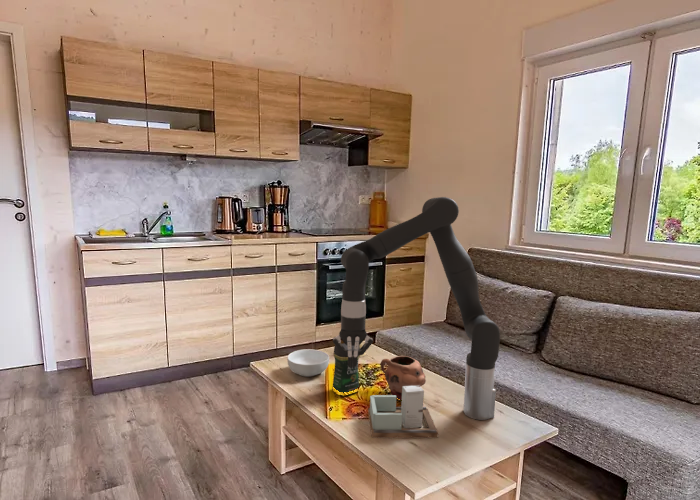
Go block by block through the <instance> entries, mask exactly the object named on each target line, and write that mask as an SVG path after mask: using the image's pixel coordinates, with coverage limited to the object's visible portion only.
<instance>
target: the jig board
mask: <svg viewBox="0 0 700 500" xmlns="http://www.w3.org/2000/svg"><path fill="white" fill-rule="evenodd" d="M367 413H368V420H369V428H370V434H371V438H374V439H375V438H376V439H379V438H380V439H381V438H382V439H383V438H386V439H387V438H388V439H389V438H391V439H392V438H398V439H399V438H401V439H403V438H404V439H407V438H410V439H411V438H415V439H416V438H419V439H420V438H431V439H432V438H434V439H435V438H436V439H437V438H439V431H438V429H437V428H436V425H435V423H434V420H433V418H432V416H431V413H430V411H429V408H427V406H423V418H422V419H423V421H424V422H425V425H426V428H422V427H417V428H404V427H403V428H402V427H401V430H375V429H373V426H372V420H371V414H370V407H368V409H367ZM377 413H401V406H396V411H377Z"/></svg>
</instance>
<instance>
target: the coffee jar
mask: <svg viewBox="0 0 700 500" xmlns="http://www.w3.org/2000/svg"><path fill="white" fill-rule="evenodd" d="M341 344H342V346H343V347H344V348H345V349H346V350H348V347H347V345H346V344H345V343H344V342H343V343H341ZM351 347H352V356H353V350H354V346H351ZM359 349H360V346H359V347H358V350H359ZM359 356H360V355H359ZM359 356H358V357H357V367H355V368H353V366H352V368H350V367H349V366H348V356H346V355H343V354H342V353H341V352H340V350H339V349H338V348H337V347H336V345H335V344H334V347H333V357H334V371H333V378H332V379H333V381H332V388H333V387H334V388H335V389H336V390H338V391H339V392H343V393H344V392H349V391H352V390H355V389H357V388H358V387H359V388H360V379H359V378H360V377H359V358H360V357H359ZM352 364H353V363H352Z"/></svg>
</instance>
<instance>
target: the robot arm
mask: <svg viewBox="0 0 700 500" xmlns="http://www.w3.org/2000/svg"><path fill="white" fill-rule="evenodd" d="M459 212H460V210H459V206H458V203H457V202H456V201H455V200H454V199H452V198H450V197H446V196H440V197H439V196H437V197H433V198H429V199H427V200H426V201H425V202H424V203H423V206H422V209H421V213H419V214H418V215H416V216H413V217H412V218H410V219H408V220H406V221H403V222H400V223H398V224H396V225H394V226H391V227H389V228H387V229H384V230H383V231H382V232H379V233H377V234H376V235H374V236H372V237H370V238H369V239H367V240H363V241H362V242H359V243H356V244H354V245H352V246H350V247H349V248H346V249H345V250H344V251H343V253H342V254H341V256H340V257H341V258H340V262H341V265H342V267H343V268H344V269H345V280H344V282H343V283H342V297H341V298H342V299H341V301H342V302H341V305H340V306H341V307H340V308H341V309H340V331H339V333H338V335H336V336H334V337H333V338H332V343H333V345H334V346H335V345H336V347H337V348H338V349H339V350H340V352H341V353H342V354H343V355H346V356H348V366H349V367H350V368H352V366H353V368H355V367H357V357H358V356H359V355H363V354H364V353H366V352H367V350H368V349H369V348H370V347H371V346H372V344H373V343H374V339H373V337H371V336H369V335H368V334H367V331H366V317H367V316H366V314H367V304H366V285H367V280H368V274H369V269H370V268H369V265H370V262H372V261H373V260H380V259H384V258H385V257H386V256H388V255H391V254H392V253H393V252H395V251H397V250H399V249H400V248H402V247H404V246H406V245H407V244H409V243H411V242H413V241H414V240H416V239H418V238H420V237H423V236H424V235H427V234H429V233H430V236H431V237H432V240H433V242H434V243H435V247H436V250H437V253H438V256H439V259H440V262H441V264H442V267H443V271H444V273H445V277H446V279H447V281H448V284H449V286H450V289H451V291H452V293H453V294H452V295H453V296H454V299H455V301H456V303H457V305H458V308H459V311H460V314H461V319H462V324H463V327H464V331H465V334H466V335H467V337H468V338H469V339H470V341H471V345H470V346H471V347H470V352H469V353H467V354H466V358H465V359H466V361H465V375H464V377H465V378H464V394H463V395H464V397H463V413H464V415H465V416H467V417H469V418H471V419H474V420H479V421H484V420H490V419H492V418H495V412H496V411H495V407H496V397H497V396H496V395H497V394H496V393H497V390H496V388H494V387H495V386H494V385H495V373H496V369H495V368H496V362H497V360H498V357H499V352H500V342H501V329H500V328H499V326H498V324H496V323H495V322H494V321H493V320H492V319H490V318H489V317H488V316H487V314H486V312H485V310H484V307H483V305H482V304H481V299H480V296H479V295H480V294H479V279H478V275H477V272H476V269H475V267H474V264H473V261H472V259H471V257H470V255H469V254H468V252H467V251H466V249H465V248H464V246H463V245H462V243H461V242H460V241H459V240H458V237H456V235H455V233H454V230H453V227H452V224H453V223H455V222H456V220H457V219H458V217H459ZM342 341H343V343H341V342H342ZM363 342H364V344H363ZM344 343H345V344H346V345H347V347H348V350H346V349H345V348H344V347H343V346H342V344H344ZM361 343H362V347H361V348H360V349H359V350H358V347H359V345H360V344H361ZM351 346H354V350H353V356H352V347H351ZM352 363H353V364H352Z"/></svg>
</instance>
